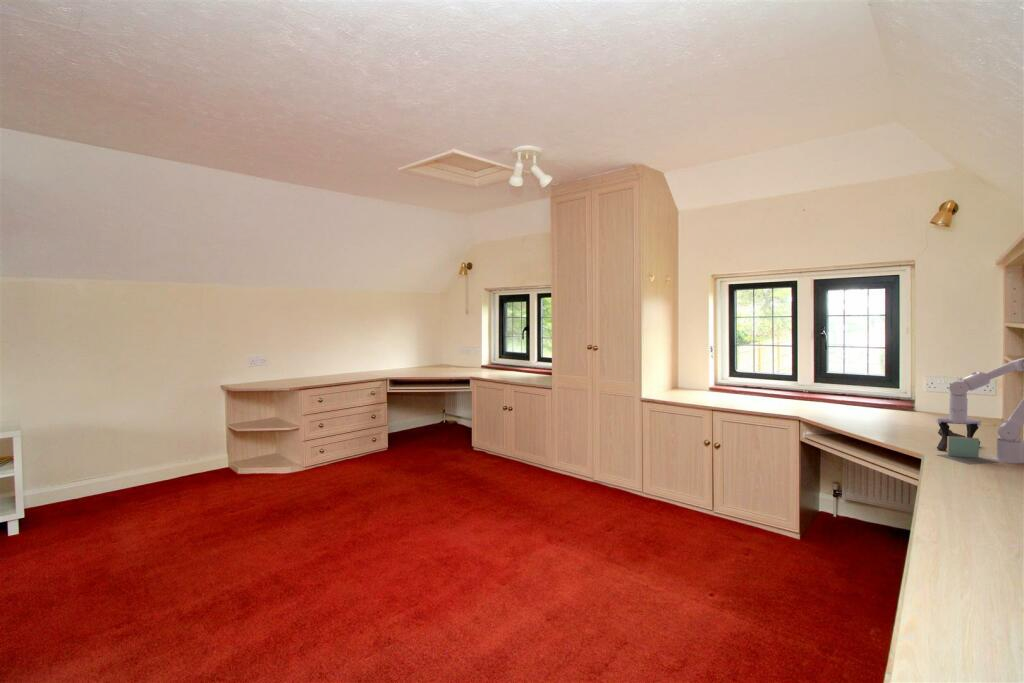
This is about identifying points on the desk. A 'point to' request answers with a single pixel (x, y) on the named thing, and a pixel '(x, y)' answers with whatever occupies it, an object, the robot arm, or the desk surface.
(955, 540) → the desk surface
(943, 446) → the handgun
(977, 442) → the tile
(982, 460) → the mat
